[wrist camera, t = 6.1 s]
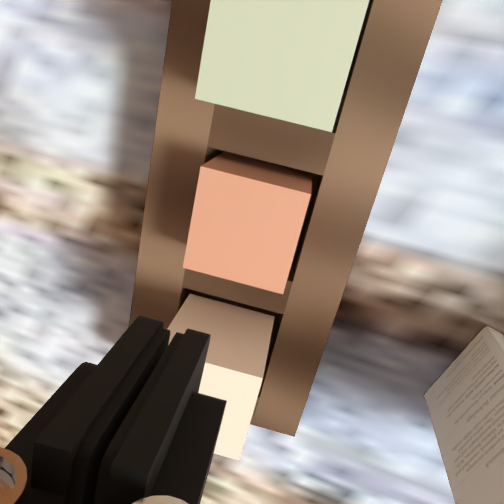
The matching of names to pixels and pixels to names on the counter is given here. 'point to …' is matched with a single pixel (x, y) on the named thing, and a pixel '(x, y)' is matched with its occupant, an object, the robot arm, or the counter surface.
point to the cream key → (229, 362)
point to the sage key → (280, 57)
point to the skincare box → (472, 420)
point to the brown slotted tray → (287, 154)
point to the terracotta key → (247, 220)
